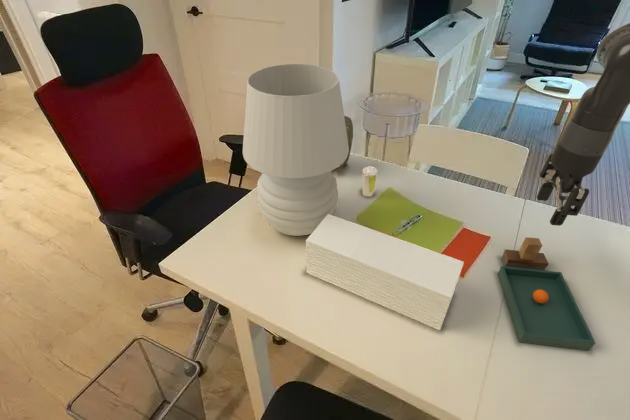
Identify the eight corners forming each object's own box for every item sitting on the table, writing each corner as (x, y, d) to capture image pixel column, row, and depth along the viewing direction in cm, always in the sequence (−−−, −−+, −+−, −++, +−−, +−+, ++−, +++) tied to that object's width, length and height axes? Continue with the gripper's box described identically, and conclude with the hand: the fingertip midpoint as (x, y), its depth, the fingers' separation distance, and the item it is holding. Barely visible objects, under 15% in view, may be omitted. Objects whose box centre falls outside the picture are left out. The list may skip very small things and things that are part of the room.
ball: (543, 296, 83) (548, 287, 81) (547, 307, 80) (553, 298, 78) (528, 294, 83) (533, 285, 81) (532, 305, 81) (538, 296, 79)
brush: (539, 261, 92) (551, 238, 87) (543, 272, 89) (557, 248, 84) (500, 257, 93) (511, 234, 88) (504, 268, 90) (515, 244, 85)
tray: (556, 280, 87) (561, 272, 86) (588, 350, 73) (595, 343, 72) (497, 273, 89) (501, 265, 87) (518, 342, 75) (523, 334, 73)
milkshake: (375, 200, 111) (379, 171, 105) (358, 196, 113) (361, 168, 107) (379, 191, 115) (383, 163, 108) (362, 188, 116) (365, 160, 110)
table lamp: (362, 218, 105) (376, 75, 80) (302, 270, 90) (297, 114, 65) (295, 185, 118) (290, 53, 92) (233, 225, 102) (207, 81, 77)
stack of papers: (452, 294, 84) (464, 261, 77) (439, 330, 77) (451, 297, 70) (327, 245, 96) (328, 213, 89) (306, 272, 89) (305, 240, 82)
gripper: (622, 166, 64) (579, 235, 74) (587, 128, 75) (554, 193, 85) (575, 163, 65) (540, 231, 75) (548, 126, 76) (520, 190, 86)
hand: (547, 211), depth 80 cm, fingers open, 8 cm apart
